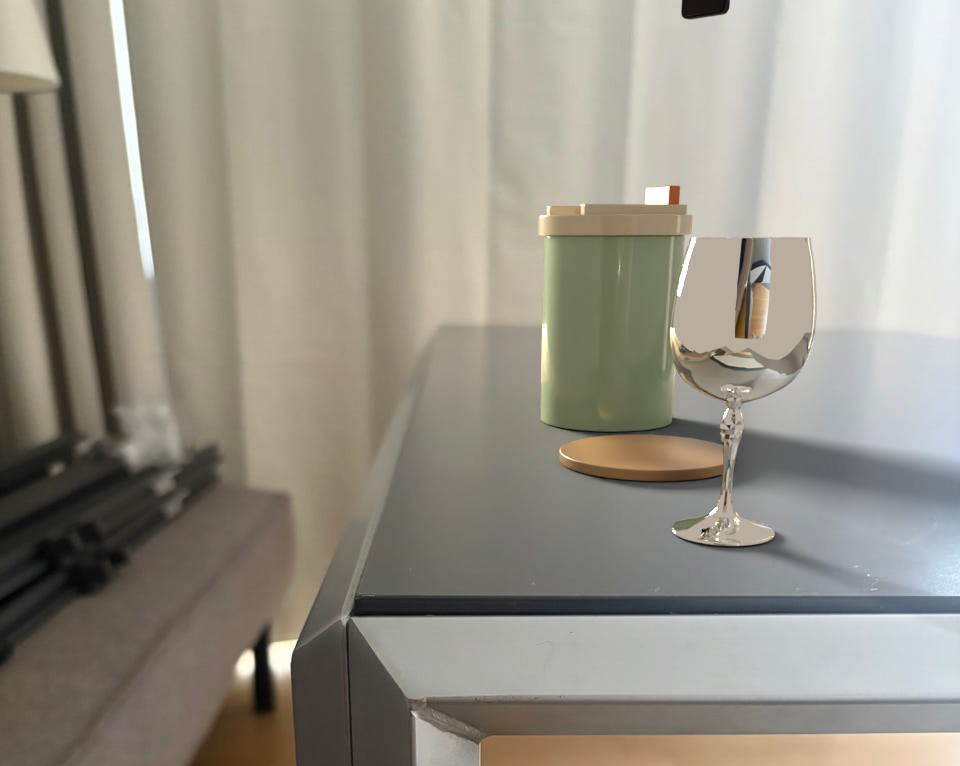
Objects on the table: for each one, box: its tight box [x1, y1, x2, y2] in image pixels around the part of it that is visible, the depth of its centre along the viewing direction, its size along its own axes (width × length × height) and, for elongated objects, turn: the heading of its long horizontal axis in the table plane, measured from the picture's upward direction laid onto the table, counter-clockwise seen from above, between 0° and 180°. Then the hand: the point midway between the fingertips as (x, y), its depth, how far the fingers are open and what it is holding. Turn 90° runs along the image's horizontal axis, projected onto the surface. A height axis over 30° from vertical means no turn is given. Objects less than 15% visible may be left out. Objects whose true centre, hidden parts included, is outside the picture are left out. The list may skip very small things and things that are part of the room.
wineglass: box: [669, 236, 818, 547], centre depth 41 cm, size 6×6×12 cm
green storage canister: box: [537, 203, 694, 433], centre depth 67 cm, size 10×10×14 cm
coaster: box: [558, 434, 737, 482], centre depth 57 cm, size 10×10×1 cm
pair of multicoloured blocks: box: [644, 185, 681, 205], centre depth 65 cm, size 4×4×2 cm
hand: (663, 4), depth 60 cm, fingers open, 9 cm apart
